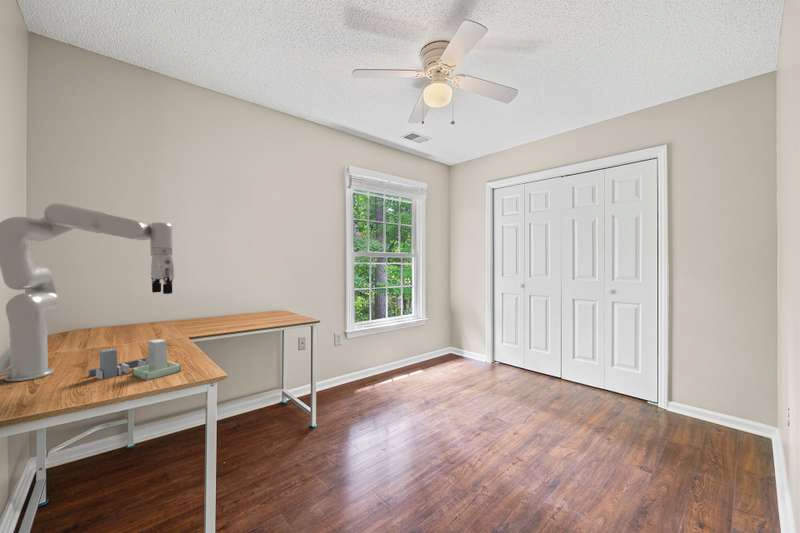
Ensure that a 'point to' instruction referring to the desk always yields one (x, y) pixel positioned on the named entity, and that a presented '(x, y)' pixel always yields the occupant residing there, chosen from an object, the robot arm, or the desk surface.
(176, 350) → the desk surface
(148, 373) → the tray
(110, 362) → the block
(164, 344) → the skincare box
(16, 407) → the desk surface
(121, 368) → the clip block
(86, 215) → the robot arm
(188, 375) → the desk surface
